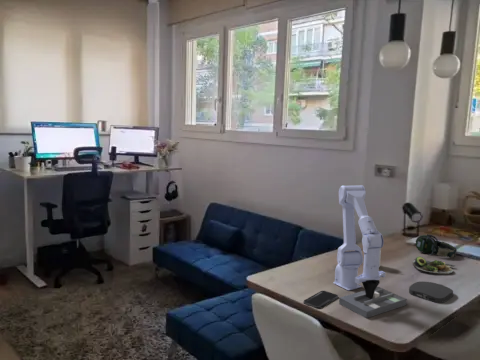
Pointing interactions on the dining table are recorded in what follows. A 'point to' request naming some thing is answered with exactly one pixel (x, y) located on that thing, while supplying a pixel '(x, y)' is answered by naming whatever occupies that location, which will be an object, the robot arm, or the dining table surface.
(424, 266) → the salad plate
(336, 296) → the phone
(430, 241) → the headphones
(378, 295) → the block
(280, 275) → the dining table surface
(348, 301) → the panel
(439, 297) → the media streaming box
